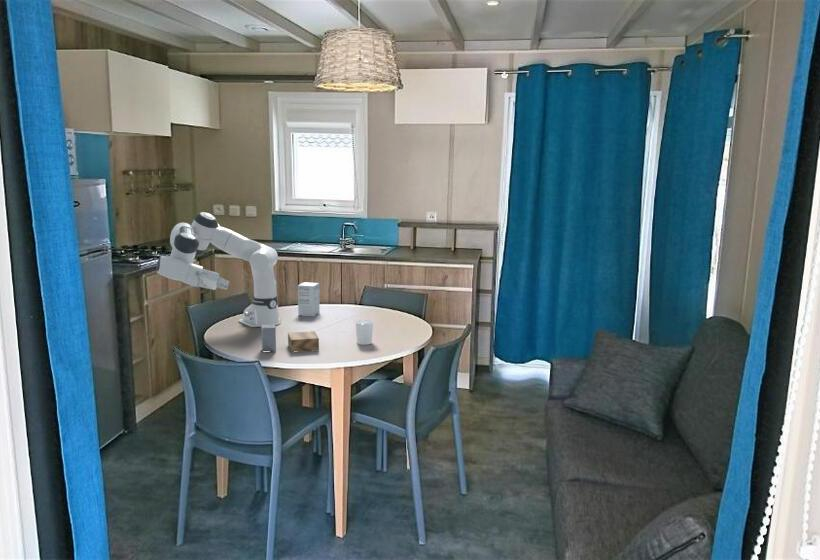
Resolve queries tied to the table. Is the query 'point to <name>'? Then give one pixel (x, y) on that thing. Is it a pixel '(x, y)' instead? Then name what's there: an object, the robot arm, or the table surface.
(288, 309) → the table surface
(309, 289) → the supplement box
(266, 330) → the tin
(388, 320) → the table surface
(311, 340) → the walnut block
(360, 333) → the white cup
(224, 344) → the table surface
